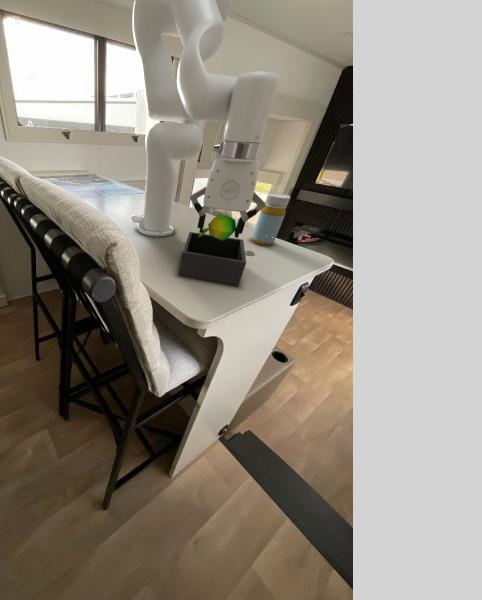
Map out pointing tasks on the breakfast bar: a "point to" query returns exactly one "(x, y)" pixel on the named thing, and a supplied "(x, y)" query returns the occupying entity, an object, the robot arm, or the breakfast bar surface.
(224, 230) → the apple
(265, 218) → the bottle
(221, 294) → the breakfast bar surface
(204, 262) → the bin
